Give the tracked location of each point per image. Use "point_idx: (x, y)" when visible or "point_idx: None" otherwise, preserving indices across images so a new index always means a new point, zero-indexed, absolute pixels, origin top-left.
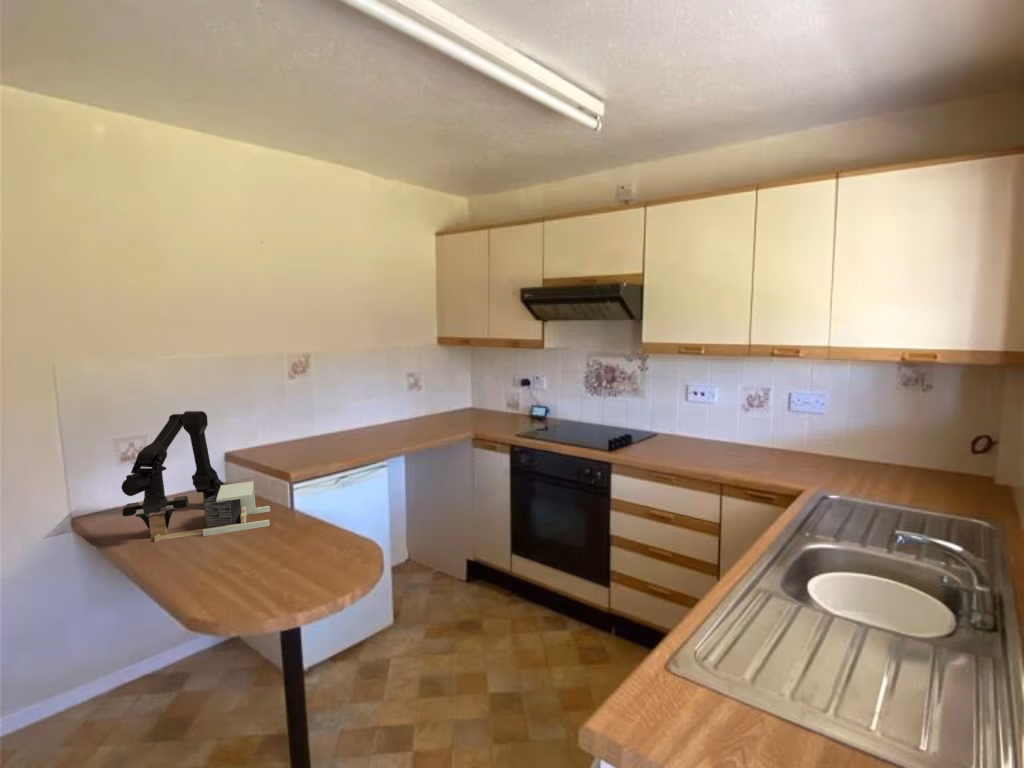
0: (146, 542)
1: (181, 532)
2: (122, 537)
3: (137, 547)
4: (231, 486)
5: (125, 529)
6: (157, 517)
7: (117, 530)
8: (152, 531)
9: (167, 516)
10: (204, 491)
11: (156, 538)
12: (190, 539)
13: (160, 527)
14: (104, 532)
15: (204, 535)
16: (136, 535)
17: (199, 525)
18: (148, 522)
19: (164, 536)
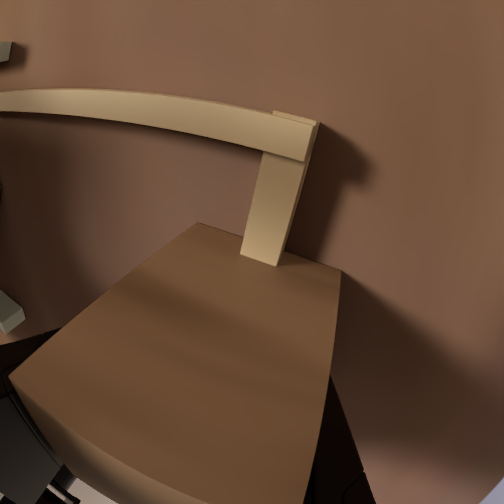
0: (406, 168)
1: (54, 103)
2: (471, 430)
3: (497, 80)
4: None
5: (395, 496)
6: (105, 454)
7: (422, 499)
8: (309, 309)
9: (12, 370)
10: (52, 484)
11: (291, 114)
12: (58, 9)
13: (187, 294)
14: (460, 498)
15: (5, 43)
16: (405, 417)
17: (34, 272)
18: (318, 466)
19: (194, 100)
